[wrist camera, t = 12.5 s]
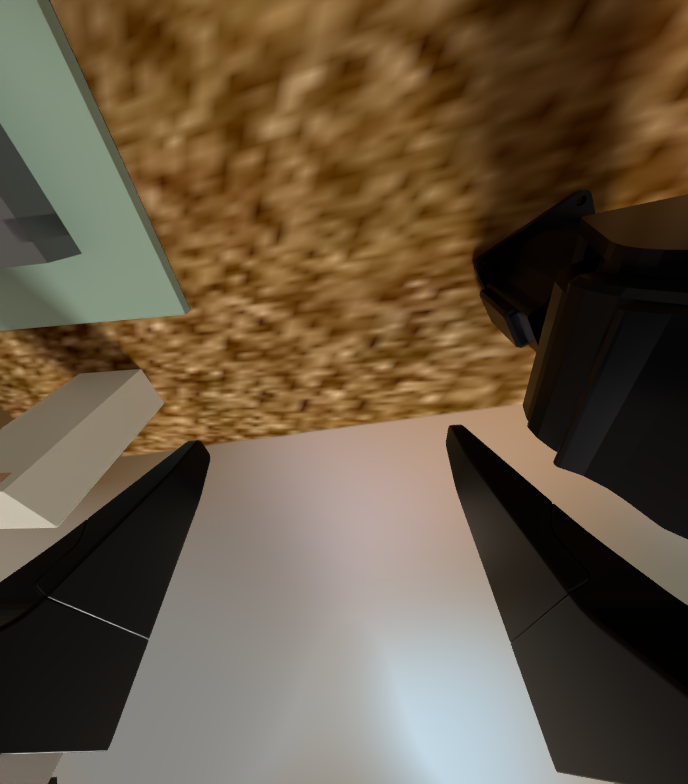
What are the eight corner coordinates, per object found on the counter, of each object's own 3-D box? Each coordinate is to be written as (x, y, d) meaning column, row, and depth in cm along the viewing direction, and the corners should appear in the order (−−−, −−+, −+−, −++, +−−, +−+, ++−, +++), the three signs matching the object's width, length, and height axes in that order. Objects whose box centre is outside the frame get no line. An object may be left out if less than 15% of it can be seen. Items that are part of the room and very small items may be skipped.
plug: (140, 368, 24) (1, 490, 15) (164, 403, 26) (58, 528, 17) (79, 373, 25) (-94, 494, 15) (107, 407, 27) (-26, 529, 18)
